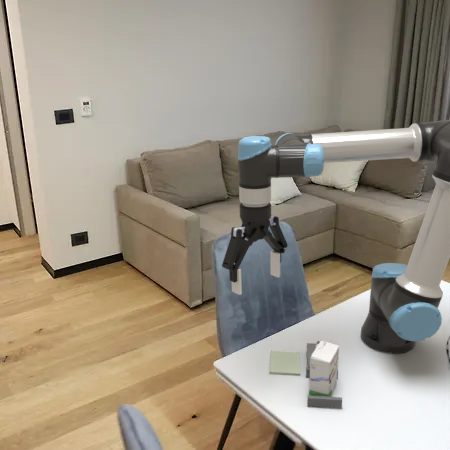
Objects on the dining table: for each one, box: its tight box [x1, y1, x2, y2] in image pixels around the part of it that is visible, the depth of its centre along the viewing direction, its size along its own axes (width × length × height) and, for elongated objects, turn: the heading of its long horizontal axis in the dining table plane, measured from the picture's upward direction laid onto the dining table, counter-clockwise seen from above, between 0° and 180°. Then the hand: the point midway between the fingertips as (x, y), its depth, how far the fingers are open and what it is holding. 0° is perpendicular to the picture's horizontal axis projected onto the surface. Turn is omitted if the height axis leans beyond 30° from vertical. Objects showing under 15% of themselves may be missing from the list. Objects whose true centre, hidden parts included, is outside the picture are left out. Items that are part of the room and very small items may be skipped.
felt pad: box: [268, 350, 301, 377], centre depth 139 cm, size 8×10×1 cm
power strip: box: [305, 340, 343, 410], centre depth 135 cm, size 8×28×4 cm, turn 173°
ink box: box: [308, 340, 340, 397], centre depth 126 cm, size 8×5×12 cm, turn 153°
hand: (256, 284), depth 129 cm, fingers open, 13 cm apart
